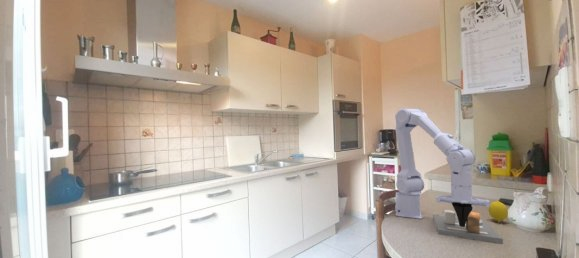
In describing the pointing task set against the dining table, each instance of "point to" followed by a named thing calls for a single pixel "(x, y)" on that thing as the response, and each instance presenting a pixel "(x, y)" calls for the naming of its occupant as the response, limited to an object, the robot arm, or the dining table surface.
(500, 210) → the lemon
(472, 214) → the button orange
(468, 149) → the robot arm
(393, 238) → the dining table surface
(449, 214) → the slider cream
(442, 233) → the panel
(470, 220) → the slider walnut
